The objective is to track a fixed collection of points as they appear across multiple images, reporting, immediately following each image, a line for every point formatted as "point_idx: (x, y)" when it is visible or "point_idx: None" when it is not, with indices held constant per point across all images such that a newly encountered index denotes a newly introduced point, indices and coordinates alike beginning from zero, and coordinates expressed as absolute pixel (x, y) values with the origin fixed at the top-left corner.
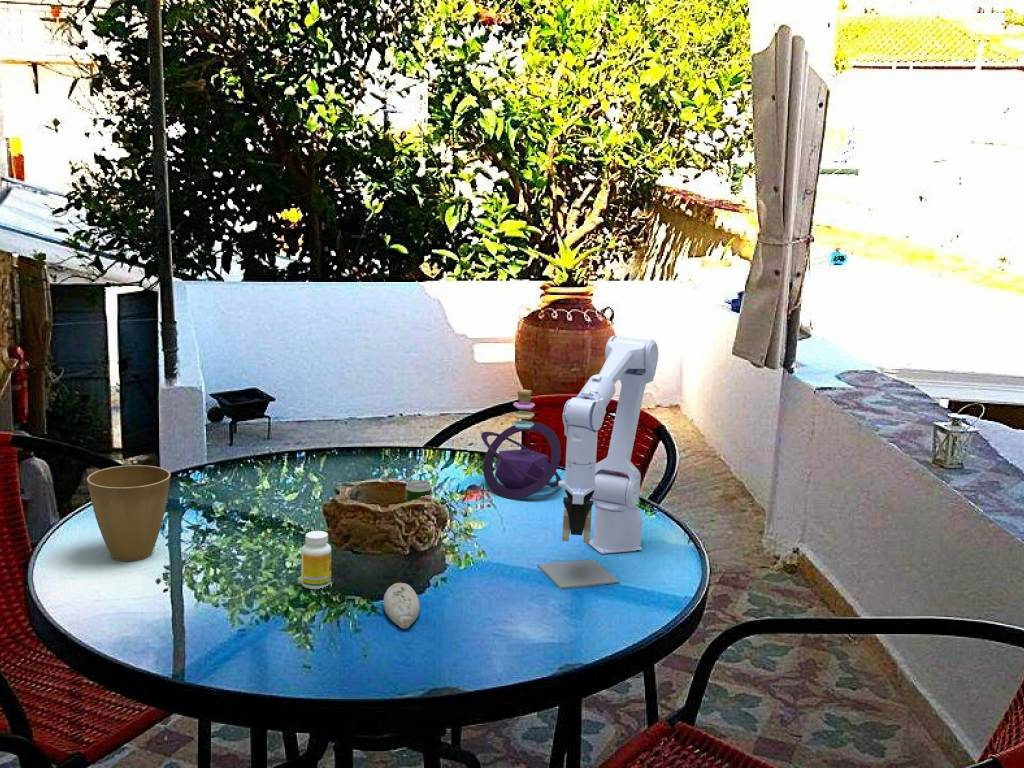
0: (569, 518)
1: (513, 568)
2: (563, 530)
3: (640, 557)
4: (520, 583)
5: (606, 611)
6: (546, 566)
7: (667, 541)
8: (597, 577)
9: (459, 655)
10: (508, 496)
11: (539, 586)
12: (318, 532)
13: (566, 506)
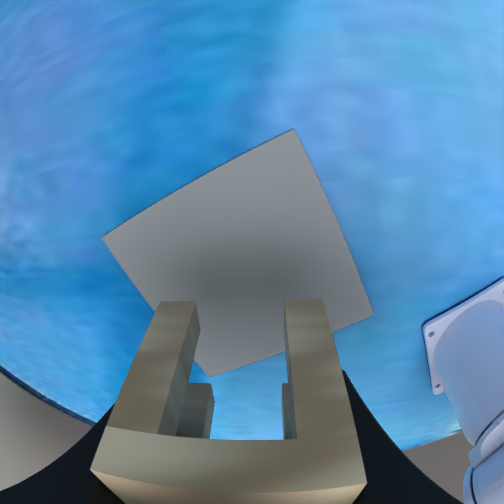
0: (82, 440)
1: (246, 41)
2: (143, 346)
3: (397, 395)
4: (107, 99)
5: (47, 336)
6: (278, 165)
7: None
8: (219, 332)
9: None
10: None
11: (102, 166)
12: None
13: (6, 494)
